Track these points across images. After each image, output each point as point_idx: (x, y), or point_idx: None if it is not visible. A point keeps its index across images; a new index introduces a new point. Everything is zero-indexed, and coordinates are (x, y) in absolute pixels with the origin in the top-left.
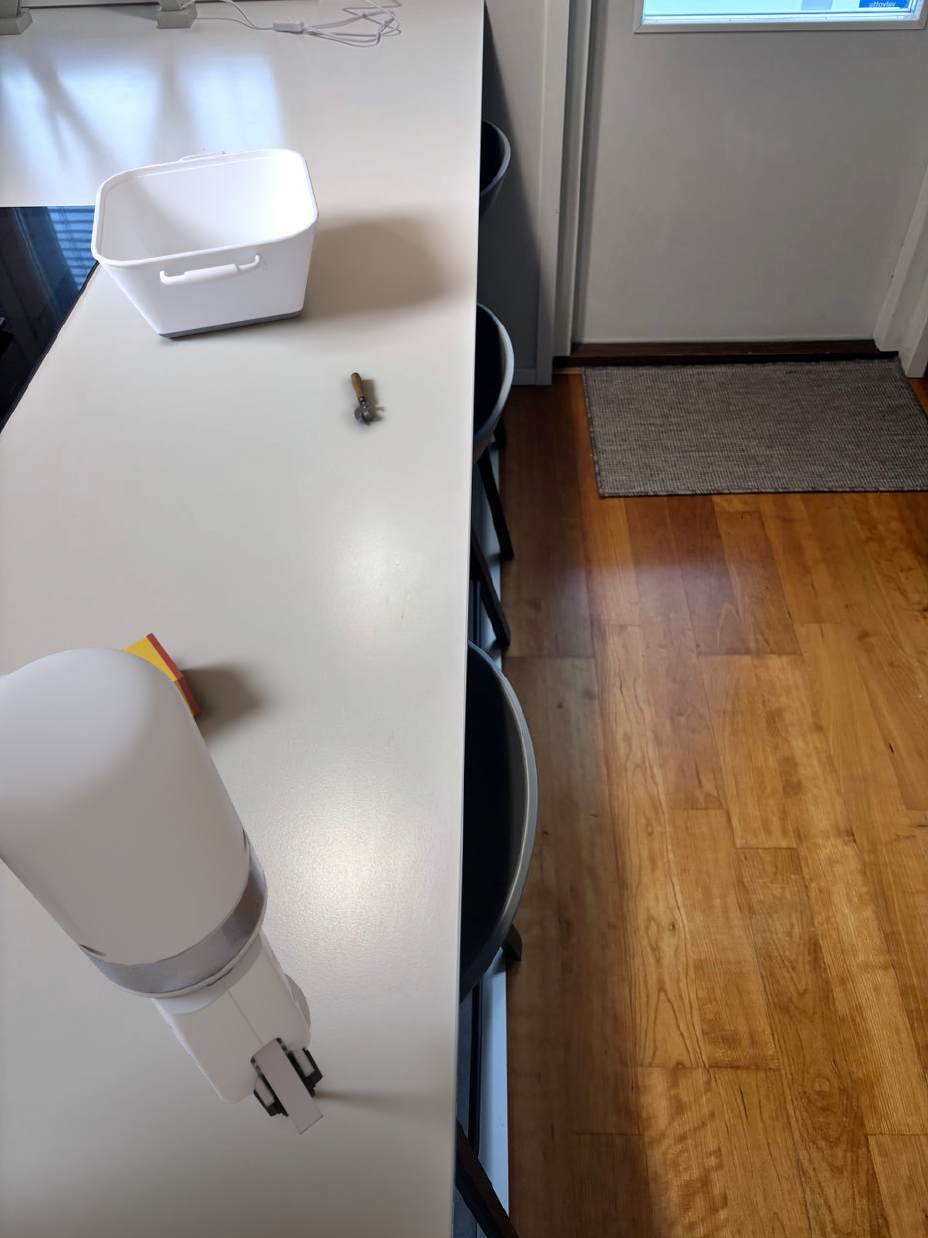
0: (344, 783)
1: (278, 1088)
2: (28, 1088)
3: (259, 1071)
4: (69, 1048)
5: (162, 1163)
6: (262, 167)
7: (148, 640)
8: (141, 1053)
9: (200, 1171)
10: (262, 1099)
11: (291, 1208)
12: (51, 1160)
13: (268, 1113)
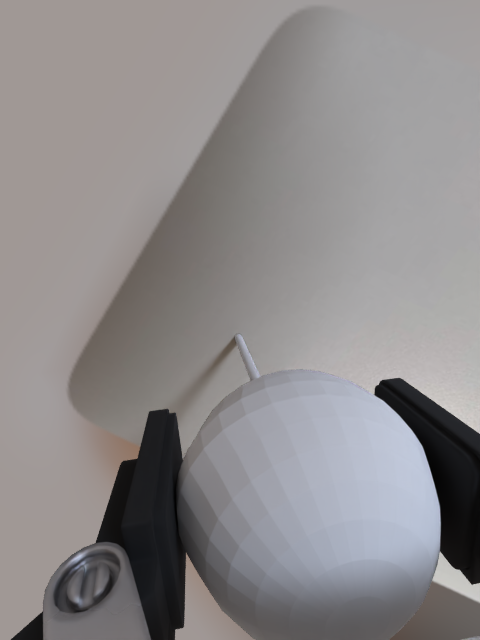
0: None
1: None
2: (424, 73)
3: (193, 516)
4: (431, 136)
5: (257, 184)
6: None
7: None
8: (373, 208)
9: (226, 218)
10: (45, 627)
11: (141, 288)
12: (336, 67)
13: (146, 424)
